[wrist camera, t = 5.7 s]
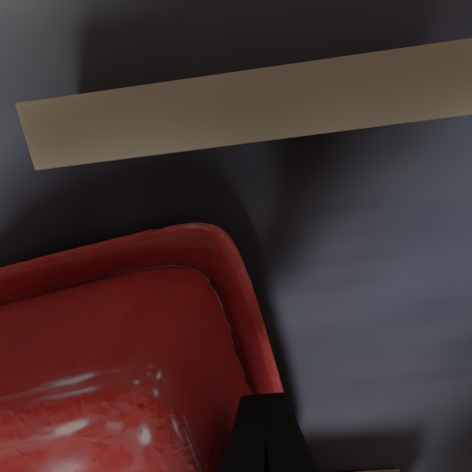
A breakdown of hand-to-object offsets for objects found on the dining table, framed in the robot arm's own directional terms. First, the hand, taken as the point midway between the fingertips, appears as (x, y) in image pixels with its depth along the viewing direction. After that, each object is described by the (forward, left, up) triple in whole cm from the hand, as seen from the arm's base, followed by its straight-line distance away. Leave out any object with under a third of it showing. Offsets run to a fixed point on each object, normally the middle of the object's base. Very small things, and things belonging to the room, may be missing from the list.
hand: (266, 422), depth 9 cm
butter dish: (-1, +5, -4) cm, 7 cm away
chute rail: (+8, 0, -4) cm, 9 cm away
